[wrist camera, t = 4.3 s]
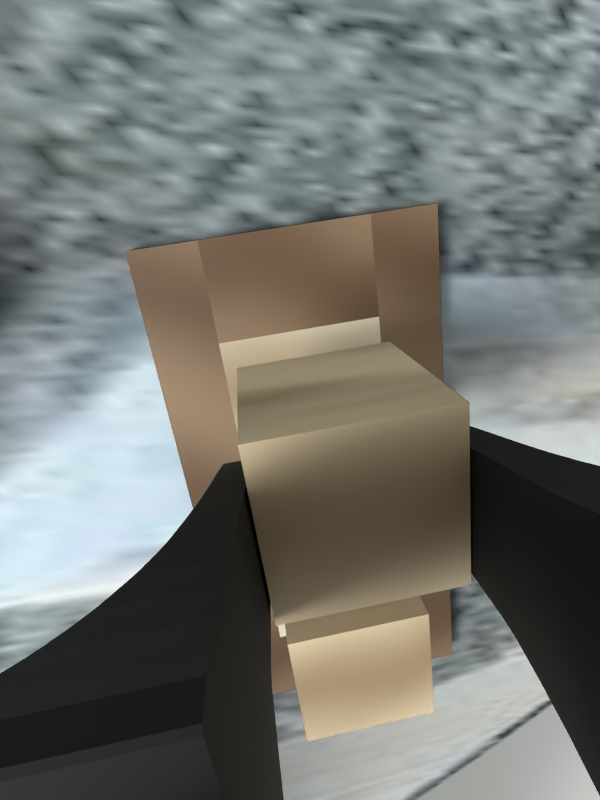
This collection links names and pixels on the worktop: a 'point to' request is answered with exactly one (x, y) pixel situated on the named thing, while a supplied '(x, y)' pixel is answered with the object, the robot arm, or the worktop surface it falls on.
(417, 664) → the pillar
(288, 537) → the tan wooden cube
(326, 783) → the worktop surface
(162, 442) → the worktop surface
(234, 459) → the board
